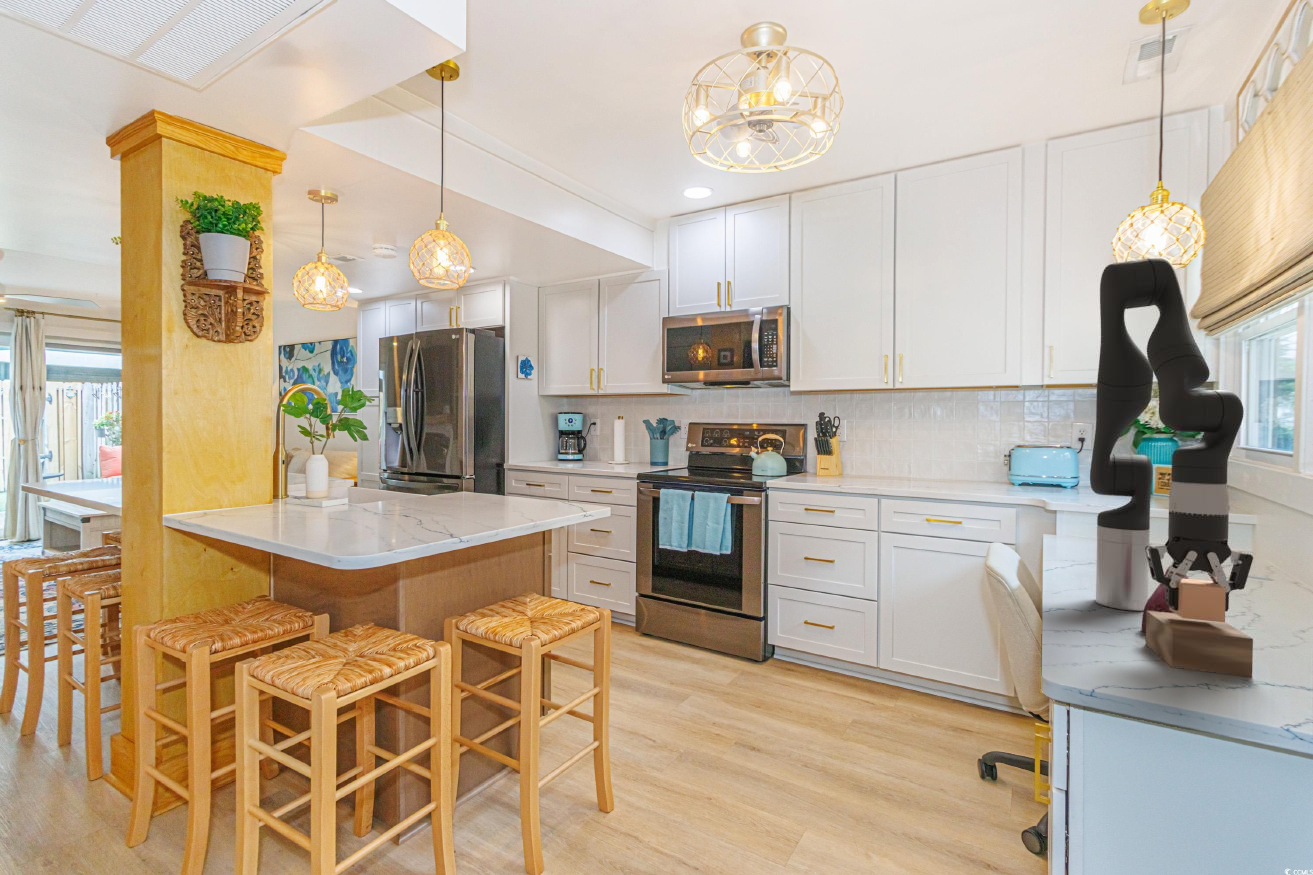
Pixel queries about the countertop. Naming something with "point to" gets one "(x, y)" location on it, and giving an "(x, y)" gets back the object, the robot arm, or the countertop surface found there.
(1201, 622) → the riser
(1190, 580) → the block
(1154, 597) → the vegetable
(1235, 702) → the countertop surface
